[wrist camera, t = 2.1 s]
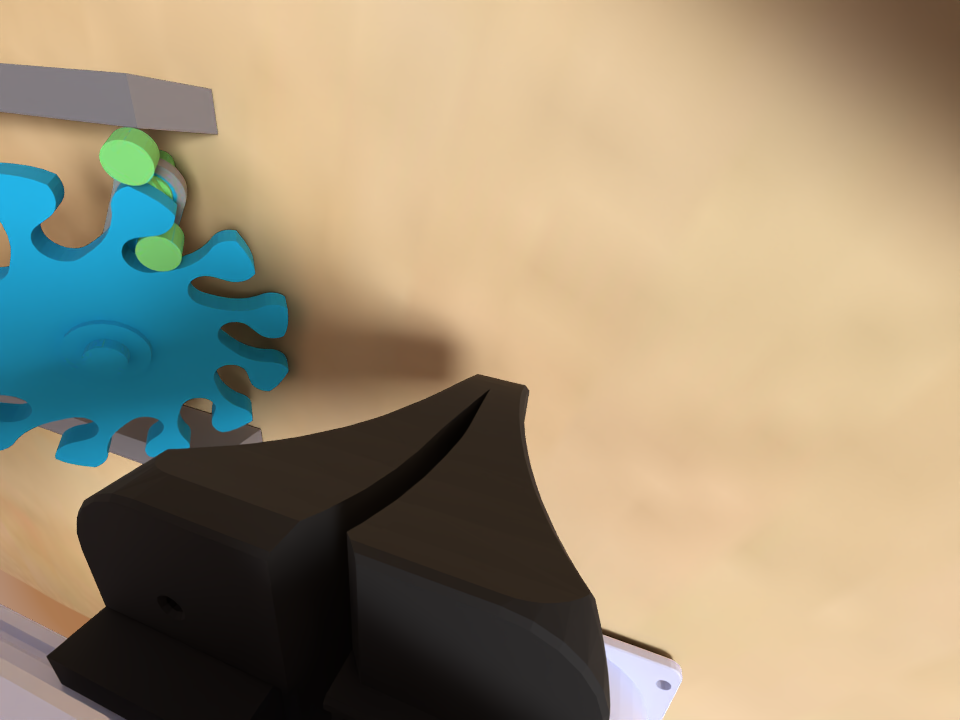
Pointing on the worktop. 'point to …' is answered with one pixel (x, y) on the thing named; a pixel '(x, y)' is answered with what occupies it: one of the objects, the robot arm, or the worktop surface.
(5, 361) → the gear
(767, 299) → the worktop surface
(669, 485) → the worktop surface
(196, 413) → the green block with rails
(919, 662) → the worktop surface
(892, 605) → the worktop surface
